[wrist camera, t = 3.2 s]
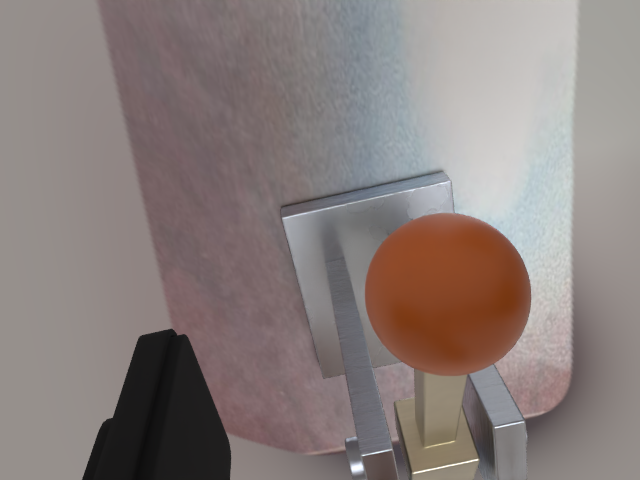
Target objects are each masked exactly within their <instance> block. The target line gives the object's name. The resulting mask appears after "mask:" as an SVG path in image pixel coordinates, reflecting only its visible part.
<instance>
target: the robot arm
mask: <svg viewBox="0 0 640 480" xmlns="http://www.w3.org/2000/svg"><path fill="white" fill-rule="evenodd" d="M230 469H231V450H230V444H229V440H228V437H227V435H226V432H225V429H224V427H223V424H222V422H221V419H220V417H219V414H218V412H217V409H216V407H215V404H214V402H213V399H212V397H211V394H210V391H209V389H208V386H207V384H206V381H205V379H204V376H203V374H202V371H201V369H200V366H199V364H198V361H197V359H196V356H195V354H194V351H193V348H192V346H191V343H190V341H189V339H188V337H187V336H186V335H185V334H183V335H178V336H177V334H176V332H175V331H174V330H173V329H168V330H163V331H159V332H155V333H151V334H146V335H142V336H140V337H139V339H138V341H137V344H136V347H135V350H134V354H133V357H132V360H131V363H130V367H129V369H128V372H127V376H126V378H125V382H124V385H123V388H122V391H121V394H120V397H119V400H118V404H117V407H116V410H115V413H114V416H113V418H111V419H107V420H106V421H105V422H103V424H102V426H101V428H100V430H99V432H98V435H97V438H96V441H95V444H94V446H93V449H92V452H91V456H90V458H89V461H88V464H87V467H86V470H85V473H84V476H83V479H82V480H230Z"/></svg>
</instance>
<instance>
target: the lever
mask: <svg viewBox="0 0 640 480" xmlns="http://www.w3.org/2000/svg"><path fill="white" fill-rule="evenodd" d="M365 305H366V311H367V314H368V317H369V320H370V323H371V326H372V328H373V330H374V332H375V333H376V335H377V337H378V338H379V339H380V341H381V342H382V344H383V345H384V346H385V347H386V348H387V349H388V350H389V352H391V353H392V354H393V355H394V356H395V357H396V358H398V359H399V360H400V361H402V362H403V363H405V364H407V365H408V366H410V367H412V368H414V384H415V397H412V398H407V399H403V400H398V401H395V402H394V412H395V421H396V429H397V433H398V437H399V442H400V446H401V450H402V454H403V457H404V462H405V466H406V470H407V474H408V478H409V480H474V476H475V473H476V470H477V467H478V464H479V461H480V456H479V453H478V450H477V447H476V444H475V441H474V438H473V435H472V432H471V429H470V426H469V423H468V420H467V417H466V414H465V411H464V408H463V405H462V402H463V396H464V391H465V385H466V379H467V374H471V373H475V372H478V371H480V370H483V369H485V368H487V367H489V366H491V365H492V364H494V363H495V362H497V361H498V360H500V359H501V358H502V357H504V356H505V355H506V354H507V353H508V352H509V351H510V350H511V349H512V348H513V346H514V345H515V344H516V342H517V341H518V339H519V338H520V336H521V335H522V332H523V330H524V328H525V326H526V323H527V320H528V317H529V313H530V307H531V286H530V280H529V275H528V272H527V270H526V267H525V265H524V262H523V260H522V258H521V256H520V254H519V253H518V251H517V250H516V248H515V247H514V246H513V245H512V243H511V242H510V241H509V240H508V239H507V238H506V237H505V236H504V235H503V234H502V233H500V232H499V231H498V230H497V229H495V228H494V227H492V226H491V225H489V224H487V223H485V222H483V221H481V220H479V219H476V218H474V217H471V216H466V215H462V214H456V213H436V214H430V215H425V216H422V217H419V218H416V219H413V220H411V221H409V222H407V223H405V224H403V225H402V226H400V227H399V228H398V229H396V230H395V231H394V232H393V233H391V234H390V235H389V236H388V237H387V238H386V239H385V240H384V242H383V243H382V244H381V245H380V247H379V248H378V249H377V251H376V253H375V254H374V256H373V258H372V260H371V263H370V265H369V268H368V272H367V276H366V281H365Z"/></svg>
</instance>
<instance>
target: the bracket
mask: <svg viewBox="0 0 640 480" xmlns="http://www.w3.org/2000/svg"><path fill="white" fill-rule="evenodd" d="M436 213H454V203H453V193H452V182H451V180H450V178H449V177H448V176H447V175H446V173H445V172H440V173H435V174H431V175H426V176H421V177H417V178H412V179H408V180H403V181H399V182H394V183H390V184H385V185H381V186H376V187H372V188H367V189H363V190H358V191H353V192H349V193H344V194H340V195H335V196H331V197H326V198H322V199H317V200H313V201H308V202H304V203H299V204H294V205H290V206H285V207H282V208H281V219H282V223H283V227H284V231H285V235H286V239H287V242H288V246H289V250H290V254H291V258H292V261H293V265H294V269H295V273H296V277H297V281H298V284H299V288H300V292H301V296H302V300H303V303H304V307H305V311H306V315H307V319H308V323H309V326H310V330H311V334H312V338H313V342H314V345H315V349H316V353H317V357H318V361H319V365H320V368H321V372H322V376H323V378H324V379H325V378H330V377H335V376H339V375H344V374H345V375H346V380H347V385H348V391H349V396H350V402H351V407H352V412H353V418H354V423H355V429H356V434H357V436H355V437H351V438H346V439H345V447H346V452H347V458H348V462H349V467H350V472H351V476H352V479H353V480H364V479H366V480H399V475H398V470H397V465H396V460H395V455H394V450H393V445H392V441H391V437H390V433H389V430H388V426H387V422H386V418H385V414H384V410H383V406H382V402H381V398H380V394H379V390H378V386H377V382H376V378H375V374H374V371H373V368H377V367H381V366H386V365H391V364H395V363H400V362H402V361H400V360H399V359H398V358H396V357H395V356H394V355H393V354H392V353H391V352H389V350H388V349H387V348H386V347H385V346H384V345H383V344H382V342H381V341H380V339H379V338H378V337H377V335H376V333H375V332H374V330H373V328H372V326H371V323H370V320H369V317H368V314H367V311H366V305H365V281H366V276H367V272H368V268H369V265H370V263H371V260H372V258H373V256H374V254H375V253H376V251H377V249H378V248H379V247H380V245H381V244H382V243H383V242H384V240H385V239H386V238H387V237H388V236H389V235H390V234H391V233H393V232H394V231H395V230H396V229H398V228H399V227H400V226H402V225H403V224H405V223H407V222H409V221H411V220H413V219H416V218H419V217H422V216H425V215H430V214H436ZM462 405H463V408H464V411H465V414H466V417H467V420H468V423H469V426H470V429H471V432H472V435H473V438H474V441H475V444H476V447H477V450H478V453H479V456H480V461H479V464H478V468H479V470H480V473H481V475H482V478H483V480H527V459H526V444H527V443H528V434H527V429H526V425H525V419H524V417H523V415H522V414H521V412H520V410H519V408H518V406H517V405H516V403H515V401H514V399H513V397H512V396H511V394H510V392H509V390H508V388H507V386H506V385H505V383H504V381H503V379H502V377H501V376H500V374H499V372H498V370H497V368H496V367H495V365H494V364H492V365H491V366H489V367H487V368H485V369H483V370H480V371H478V372H475V373H471V374H467V379H466V385H465V391H464V396H463V402H462Z"/></svg>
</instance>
